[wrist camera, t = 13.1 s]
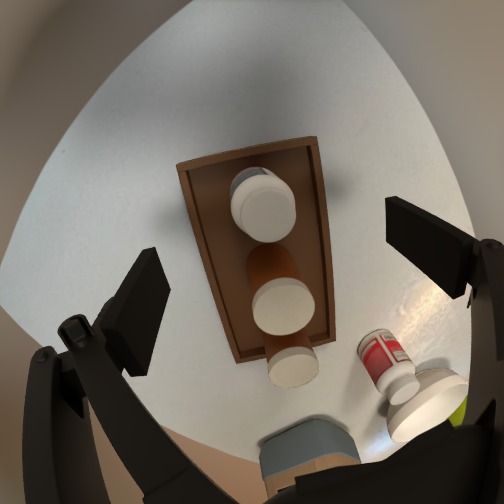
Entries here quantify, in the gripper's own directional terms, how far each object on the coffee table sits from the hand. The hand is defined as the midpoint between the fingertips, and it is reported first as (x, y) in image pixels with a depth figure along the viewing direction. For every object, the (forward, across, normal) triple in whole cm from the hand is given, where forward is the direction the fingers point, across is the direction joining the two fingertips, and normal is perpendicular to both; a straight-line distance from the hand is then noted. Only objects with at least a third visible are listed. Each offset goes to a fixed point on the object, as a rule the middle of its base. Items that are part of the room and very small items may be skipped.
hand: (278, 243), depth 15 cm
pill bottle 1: (+14, 0, 0) cm, 14 cm away
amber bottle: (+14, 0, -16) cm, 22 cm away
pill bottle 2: (+15, +14, -26) cm, 33 cm away
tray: (+15, 0, -8) cm, 17 cm away
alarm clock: (+14, +1, -51) cm, 53 cm away
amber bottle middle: (+14, 0, -8) cm, 16 cm away
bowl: (+15, +26, -46) cm, 54 cm away
